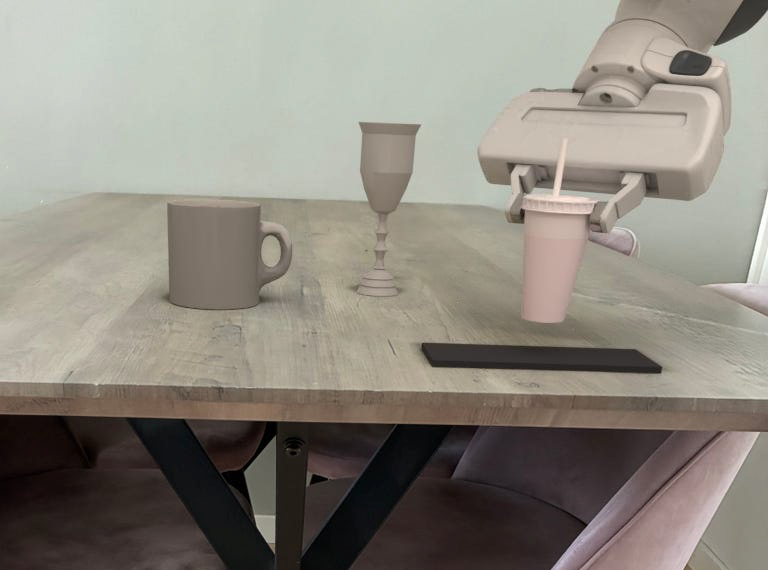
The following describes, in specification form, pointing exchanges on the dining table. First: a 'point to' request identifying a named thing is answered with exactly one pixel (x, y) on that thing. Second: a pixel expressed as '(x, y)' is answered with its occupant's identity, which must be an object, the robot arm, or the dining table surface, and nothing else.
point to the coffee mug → (220, 253)
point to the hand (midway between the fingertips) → (555, 223)
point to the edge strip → (539, 358)
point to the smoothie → (553, 248)
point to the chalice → (385, 188)
